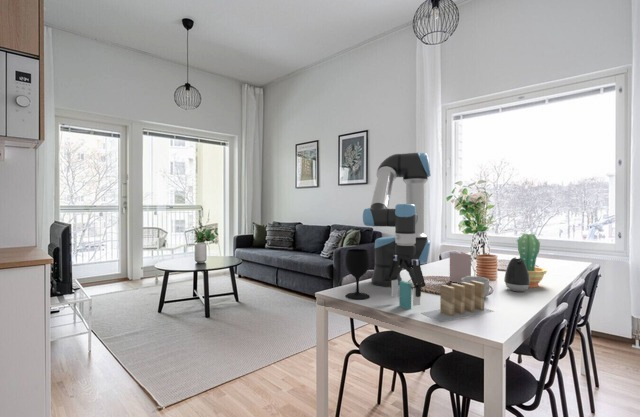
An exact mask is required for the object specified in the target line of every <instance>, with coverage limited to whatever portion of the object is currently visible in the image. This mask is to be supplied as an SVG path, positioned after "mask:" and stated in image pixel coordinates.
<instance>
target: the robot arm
mask: <svg viewBox="0 0 640 417" xmlns="http://www.w3.org/2000/svg"><path fill="white" fill-rule="evenodd" d="M429 177H431V167H430V160H429V155H428V154H427V153H426V152H411V153H410V152H409V153H394V154H392V155H389V156H388V157H386V158H385V159H384V160H383V161H381V163H380V164H379V166H378V168H377V170H376V178H377V179H376V184H375V187H374V191H373V195H372V200H371V203H370V207H367V208H364V210H363V212H362V223H363V225H364V226H366V227H393V228H395V232H394V233H395V234H394V235H392V236H383V237H379V238H376V239H375V241H374V268H373V272H372V276H371V279H370V280H371V282H370V283H371V284H373V285H375V286H380V287H391V297H392V298H396V297H399V281H403V279H402V277H401V272H402V270H403V269H404V270H405V271H406V272H407V273H408V276H409V277H410V279H411V281H412V282H411V283H412V285H413V287H412V306H414V307H415V306H420V305H421V296H422V288H424V287H426V283H425V278H424V275H423V271H422V267H421V265H425V264H427V263H428V260H429V255H430V248H431V240H429V239H428V236H427V235H426V234H425V183H426V182H428V178H429ZM397 178H402V181H403V182H404V183H405V195H406V197H405V203H397V204H395V207H394V208H389V205H390V200H391V199H390V198H391V196H392V188H393V184H394V181H395V180H396V179H397Z"/></svg>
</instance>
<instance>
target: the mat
mask: <svg viewBox="0 0 640 417" xmlns="http://www.w3.org/2000/svg"><path fill="white" fill-rule="evenodd" d="M492 312H494V310H492V309H489V308H487V307H484V310H478V309H475V312H469V311H466V310H465V314H459V313H456V312H454V316H449V315H446V314H444V313H441V312H440V309H436V310H430V311H424V312H420V314H421V315H423V316H426V317H428V318H431V319H433V320H435V321H437V322H440V323H443V322H447V321H453V320H457V319H461V318H462V319H464V318H467V317H472V316H477V315H482V314H486V313H487V314H488V313H492Z"/></svg>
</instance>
